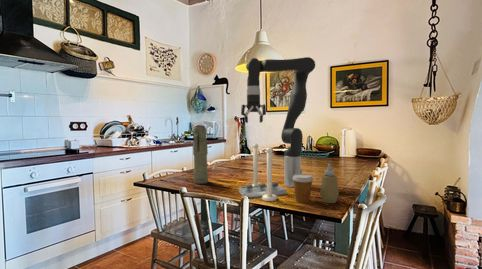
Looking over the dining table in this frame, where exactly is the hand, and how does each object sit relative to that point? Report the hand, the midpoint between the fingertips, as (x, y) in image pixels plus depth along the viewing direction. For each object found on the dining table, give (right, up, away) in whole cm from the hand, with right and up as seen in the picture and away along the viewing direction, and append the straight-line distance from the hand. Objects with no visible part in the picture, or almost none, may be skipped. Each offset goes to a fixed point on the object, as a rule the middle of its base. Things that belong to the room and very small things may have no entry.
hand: (253, 122), depth 159 cm
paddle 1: (-3, -34, -17) cm, 38 cm away
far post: (+1, -37, -5) cm, 37 cm away
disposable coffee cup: (+22, -38, -29) cm, 53 cm away
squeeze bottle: (+34, -38, -31) cm, 60 cm away
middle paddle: (+4, -34, -15) cm, 37 cm away
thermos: (-32, -37, +11) cm, 50 cm away
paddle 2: (+10, -33, -14) cm, 37 cm away
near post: (+6, -38, -26) cm, 46 cm away
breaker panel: (+4, -38, -15) cm, 41 cm away
